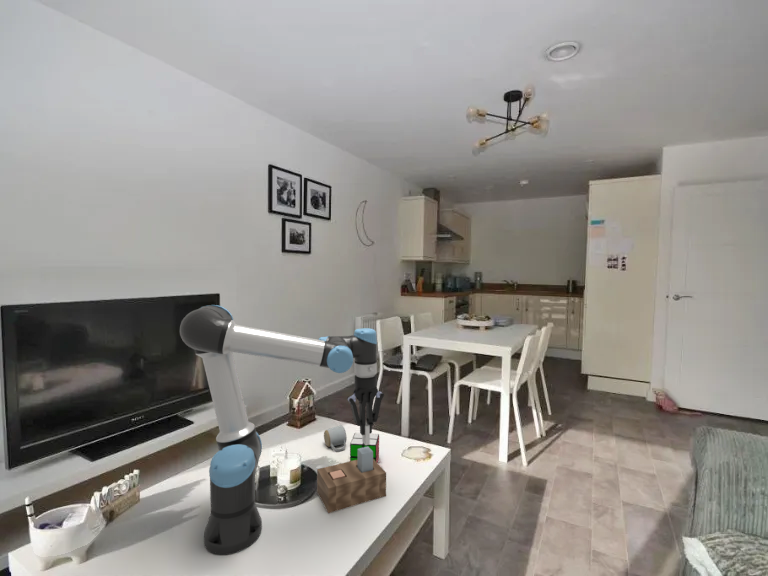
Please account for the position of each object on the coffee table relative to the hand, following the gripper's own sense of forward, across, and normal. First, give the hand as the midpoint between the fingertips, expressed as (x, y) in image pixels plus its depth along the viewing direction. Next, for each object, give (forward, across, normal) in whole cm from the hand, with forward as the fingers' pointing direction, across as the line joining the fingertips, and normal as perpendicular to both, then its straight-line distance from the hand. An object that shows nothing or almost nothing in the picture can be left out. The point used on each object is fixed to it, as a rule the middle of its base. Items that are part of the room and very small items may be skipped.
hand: (366, 443), depth 126 cm
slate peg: (+10, 0, 0) cm, 10 cm away
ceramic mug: (+17, +2, +34) cm, 38 cm away
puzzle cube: (+17, +7, +16) cm, 24 cm away
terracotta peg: (+16, -10, 0) cm, 19 cm away
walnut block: (+16, -5, 0) cm, 17 cm away
